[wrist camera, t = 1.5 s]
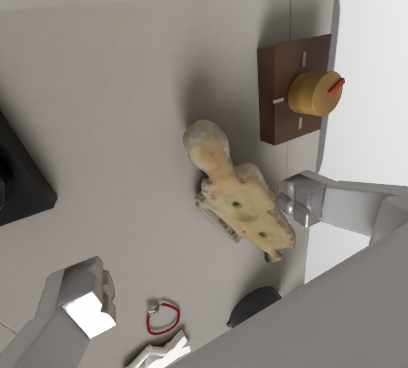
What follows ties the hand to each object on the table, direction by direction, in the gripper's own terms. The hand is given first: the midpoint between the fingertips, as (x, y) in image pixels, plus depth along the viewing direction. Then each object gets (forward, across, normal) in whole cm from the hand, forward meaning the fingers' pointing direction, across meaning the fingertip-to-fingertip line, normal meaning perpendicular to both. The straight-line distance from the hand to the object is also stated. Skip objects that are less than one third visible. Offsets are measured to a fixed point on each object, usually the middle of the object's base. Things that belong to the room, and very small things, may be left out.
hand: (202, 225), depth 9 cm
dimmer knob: (+14, -19, -1) cm, 24 cm away
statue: (+17, -11, +13) cm, 24 cm away
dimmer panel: (+17, -19, -1) cm, 25 cm away
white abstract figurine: (+17, +10, +40) cm, 45 cm away
